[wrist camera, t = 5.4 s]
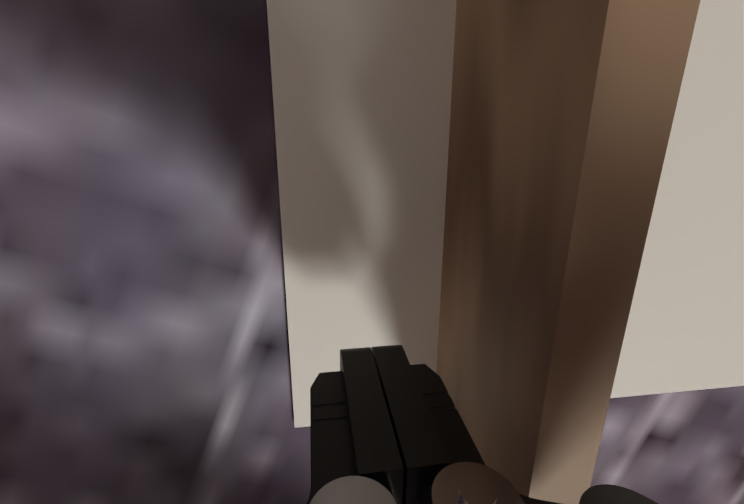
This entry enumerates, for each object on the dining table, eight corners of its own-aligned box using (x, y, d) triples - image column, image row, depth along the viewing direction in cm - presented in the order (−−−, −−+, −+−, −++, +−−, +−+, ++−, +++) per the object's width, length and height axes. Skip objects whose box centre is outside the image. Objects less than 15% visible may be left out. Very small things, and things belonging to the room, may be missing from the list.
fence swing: (448, -94, 9) (717, -518, 3) (525, -89, 9) (916, -472, 3) (424, 440, 14) (507, 683, 8) (474, 434, 14) (592, 666, 8)
